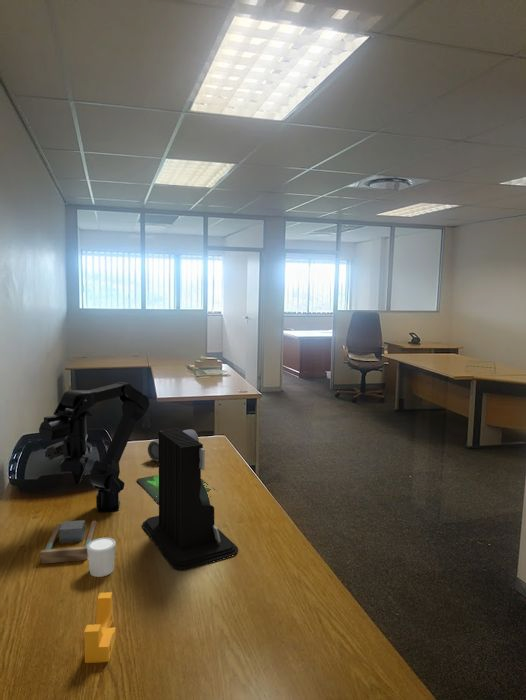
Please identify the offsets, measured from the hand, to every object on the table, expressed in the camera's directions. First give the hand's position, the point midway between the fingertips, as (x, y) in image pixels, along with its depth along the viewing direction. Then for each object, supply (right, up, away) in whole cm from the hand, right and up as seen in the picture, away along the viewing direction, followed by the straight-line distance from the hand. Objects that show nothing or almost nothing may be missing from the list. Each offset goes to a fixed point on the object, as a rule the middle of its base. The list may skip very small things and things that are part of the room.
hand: (77, 484), depth 145 cm
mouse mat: (+24, -10, +30) cm, 40 cm away
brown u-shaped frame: (+2, -13, -11) cm, 17 cm away
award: (+34, -14, -7) cm, 37 cm away
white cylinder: (+15, -15, -24) cm, 32 cm away
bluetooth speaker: (+17, -6, +63) cm, 66 cm away
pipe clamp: (+24, -18, -48) cm, 57 cm away
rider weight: (+2, -13, -8) cm, 15 cm away
